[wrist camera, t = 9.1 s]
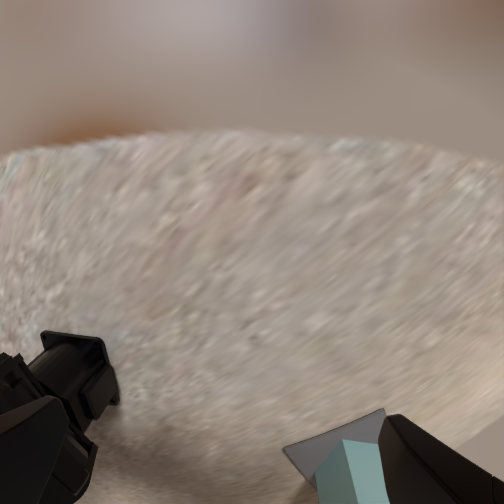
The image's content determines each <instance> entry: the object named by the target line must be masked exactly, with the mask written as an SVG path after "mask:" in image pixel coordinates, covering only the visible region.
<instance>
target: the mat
mask: <svg viewBox="0 0 504 504" xmlns="http://www.w3.org/2000/svg"><path fill="white" fill-rule="evenodd" d="M386 416H387V415H386V412H385V410H384V408H382V409H380V410H378V411H376V412H374V413H372V414H369V415H367V416H365V417H363V418H361V419H358V420H356V421H354V422H352V423H349V424H347V425H345V426H342V427H340V428H337V429H335V430H332V431H330V432H327V433H325V434H322V435H319V436H317V437H314V438H311V439H308V440H306V441H303V442H300V443H297V444H294V445H291V446H288V447H285V448H284V451H285V452H286V454H287V455H288V456H289V457H290V459H291V460H292V461H293V462H294V464H295V465H296V466H297V467H298V469H299V470H300V471H301V472H302V474H303V475H304V476H305V477H306V478H307V480H308V481H309V482H310V483H311V484H312V486H313V487H314V488H315V489H316V490H317V483H316V476H315V471H316V470H317V469H318V468H319V466H320V465H321V464H322V463H323V462H324V461H325V459H326V458H327V457H328V456H329V455H330V454H331V452H332V451H333V450H334V449H335V448H336V446H337V445H338V444H339V443H340V441H341V440H342V439H344V440H351V441H357V442H365V443H372V444H378V437H379V433H380V430H381V427H382V424H383V421H384V418H385V417H386ZM317 492H318V491H317Z"/></svg>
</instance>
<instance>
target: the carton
mask: <svg viewBox="0 0 504 504" xmlns="http://www.w3.org/2000/svg"><path fill="white" fill-rule="evenodd" d="M315 476H316V483H317V491H318V498H319V504H390V503H389V499H388V496H387V492H386V488H385V482H384V476H383V470H382V464H381V458H380V452H379V447H378V444H372V443H365V442H357V441H351V440H344V439H342V440H341V441H340V443H339V444H338V445H337V446H336V448H335V449H334V450H333V451H332V452H331V454H330V455H329V456H328V457H327V458H326V459H325V461H324V462H323V463H322V464H321V465H320V466H319V468H318V469H317V470H316V471H315Z"/></svg>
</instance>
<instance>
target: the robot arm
mask: <svg viewBox="0 0 504 504" xmlns="http://www.w3.org/2000/svg"><path fill="white" fill-rule="evenodd" d="M40 336H41V340H42V343H43V347H44V351H43V352H42V353H41V354H40V355H38V356H37V357H36V358H35V359H34V360H33V361H32V362H30V363H29V364H28V365H26V364H25V362H24V361H23V360H24V359H23V357H22V356H21V354H20V353H19V354H17V355H16V356H15V357H12V356H9V355H7V354H6V353H4V352H3V353H2V354H0V504H73V503H75V502H76V501H77V500H79V499H80V498H81V497H82V495H83V494H84V493H85V491H86V490H87V488H88V486H89V483H90V479H91V475H92V470H93V466H94V462H95V458H96V454H97V450H98V446H97V445H96V444H95V443H94V442H91V441H90V440H89V439H88V438H87V437H86V436H85V435H84V433H85V431H86V430H87V428H88V427H89V425H90V424H91V422H92V421H93V420H97V419H99V417H100V416H101V414H102V413H103V411H104V409H105V408H106V406H107V405H114V406H116V405H117V404H118V403H119V397H118V393H117V387H116V384H115V380H114V377H113V373H112V370H111V366H110V364H109V361H108V358H107V354H106V350H105V345H104V342H103V341H102V339H100V338H98V337H91V336H82V335H74V334H67V333H60V332H53V331H46V330H45V331H43V332H42V333H41V334H40ZM46 337H47V338H46ZM96 343H98V344H99V346H98V345H97V344H96ZM114 400H115V401H114ZM378 447H379V452H380V458H381V464H382V470H383V476H384V482H385V488H386V492H387V496H388V499H389V503H390V504H504V482H503V481H501V480H500V479H498V478H497V477H495V476H493V477H492V474H490V473H488V472H487V471H485V470H484V469H482V468H481V467H479V466H477V465H476V464H474V463H473V462H471V461H470V460H468V459H467V458H465V457H463V456H462V455H460V454H459V453H457V452H456V451H454V450H453V449H451V448H450V447H448V446H447V445H445V444H444V443H442V442H441V441H439V440H438V439H436V438H435V437H433V436H432V435H430V434H429V433H428V432H426V431H425V430H423V429H422V428H420V427H419V426H417V425H416V424H414V423H413V422H412V421H410V420H409V419H407V418H406V417H404V416H403V415H401V414H395V415H389V416H386V417H385V418H384V421H383V424H382V427H381V430H380V433H379V437H378Z"/></svg>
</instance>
